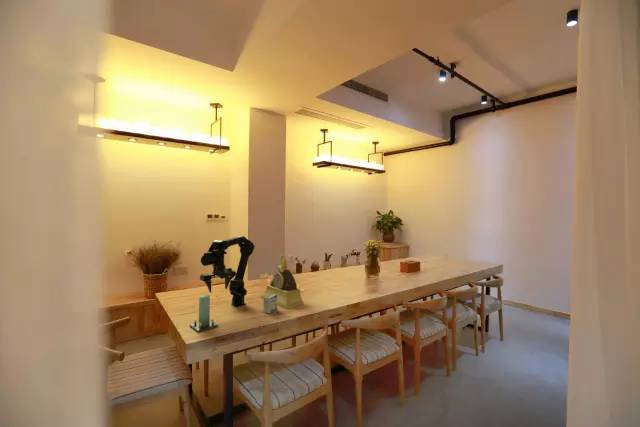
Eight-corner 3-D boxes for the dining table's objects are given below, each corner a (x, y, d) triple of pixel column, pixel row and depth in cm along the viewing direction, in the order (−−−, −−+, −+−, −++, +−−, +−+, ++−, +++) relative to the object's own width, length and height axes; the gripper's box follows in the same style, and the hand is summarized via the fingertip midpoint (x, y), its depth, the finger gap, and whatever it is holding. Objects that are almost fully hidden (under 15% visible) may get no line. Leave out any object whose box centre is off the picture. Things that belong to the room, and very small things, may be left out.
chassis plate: (209, 320, 146) (209, 314, 146) (218, 326, 139) (218, 319, 139) (189, 326, 138) (189, 319, 138) (198, 332, 132) (198, 325, 131)
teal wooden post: (209, 321, 142) (209, 294, 142) (209, 325, 137) (209, 297, 137) (198, 323, 140) (199, 295, 140) (198, 327, 135) (198, 298, 135)
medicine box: (270, 313, 157) (270, 298, 157) (263, 312, 159) (263, 297, 159) (277, 309, 165) (277, 294, 165) (270, 308, 166) (270, 293, 166)
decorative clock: (260, 298, 186) (261, 253, 185) (276, 294, 195) (277, 251, 194) (286, 309, 165) (286, 258, 165) (302, 304, 174) (303, 256, 174)
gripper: (208, 267, 143) (208, 297, 143) (241, 262, 157) (240, 290, 157) (199, 264, 151) (199, 292, 151) (231, 260, 164) (231, 286, 164)
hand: (218, 290), depth 156 cm, fingers open, 9 cm apart
